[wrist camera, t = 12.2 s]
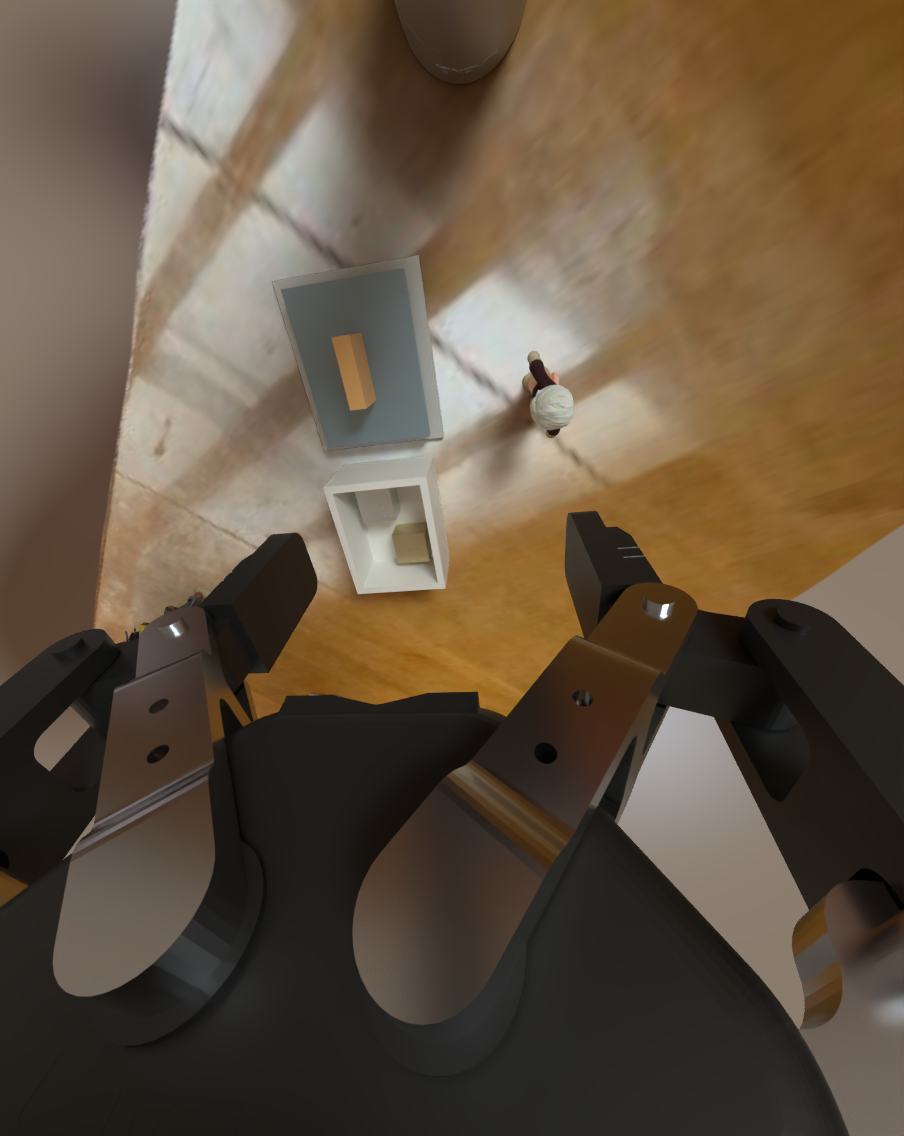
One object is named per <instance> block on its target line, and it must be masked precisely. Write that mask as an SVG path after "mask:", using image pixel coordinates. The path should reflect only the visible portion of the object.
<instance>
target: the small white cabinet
mask: <svg viewBox="0 0 904 1136" xmlns="http://www.w3.org/2000/svg"><path fill="white" fill-rule="evenodd" d="M395 487H396V490H397V494H398V499H399V503H400V508H401V510H400V513H399V515H398V517H397V520H394V521H383V522H371V523H363V519H362V516H361V512H360V509H359V505H358V502H357V498H356V495H355V491H365V490H375V489H385V488H395ZM323 490H324V493H325V496H326V499H327V502H328V505H329V508H330V511H331V514H332V517H333V520H334V523H335V526H336V529H337V532H338V535H339V538H340V541H341V545H342V548H343V551H344V554H345V557H346V560H347V563H348V566H349V569H350V572H351V575H352V578H353V581H354V584H355V587H356V590H357V593H358V594H368V593H383V592H398V591H413V590H428V589H444V588H446V581H447V574H448V567H449V559H450V556H449V550H448V543H447V537H446V530H445V524H444V518H443V511H442V505H441V499H440V492H439V486H438V480H437V473H436V467H435V461H434V455H430V456H421V457H412V458H403V459H394V460H385V461H376V462H367V463H358V464H349V465H343V466H342V467H341V468H340V469H339V470H338V471H337V472H336V473H335V474H334V476H333V477H332V478H331V479H330V480H329V481H328V482H327V483H326V484H325V485H324V487H323ZM419 522H427V527H428V532H429V537H430V543H431V548H432V552H431V557H430V561H427V562H414V563H400V564H398V560H397V556H396V551H395V547H394V543H393V539H392V534H393V531H394V529H395V527H396V524H407V523H419Z"/></svg>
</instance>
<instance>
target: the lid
mask: <svg viewBox="0 0 904 1136" xmlns="http://www.w3.org/2000/svg"><path fill="white" fill-rule="evenodd" d="M281 292H282V296H283V299H284V302H285V306H286V309H287V312H288V316H289V319H290V322H291V326H292V329H293V332H294V336H295V339H296V342H297V345H298V349H299V352H300V355H301V359H302V362H303V365H304V369H305V372H306V375H307V379H308V382H309V385H310V389H311V392H312V395H313V398H314V402H315V405H316V408H317V412H318V415H319V418H320V422H321V425H322V428H323V432H324V435H325V438H326V442H327V445H328V448H335V447H344V446H352V445H361V444H369V443H378V442H387V441H395V440H404V439H412V438H421V437H430V435H431V434H430V427H429V421H428V415H427V408H426V402H425V396H424V389H423V383H422V376H421V370H420V364H419V357H418V351H417V344H416V338H415V332H414V325H413V319H412V312H411V306H410V300H409V293H408V287H407V280H406V274H405V269H404V268H401V269H395V270H390V271H384V272H378V273H372V274H367V275H361V276H355V277H349V278H344V279H338V280H332V281H326V282H321V283H315V284H309V285H303V286H298V287H292V288H286V289H281Z"/></svg>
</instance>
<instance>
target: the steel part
mask: <svg viewBox="0 0 904 1136" xmlns="http://www.w3.org/2000/svg"><path fill="white" fill-rule="evenodd" d="M355 495H356V498H357V502H358V505H359V509H360V512H361V516H362V519H363V523H371V522H383V521H394V520H397V517H398V515H399V513H400V510H401V508H400V503H399V499H398V494H397V490H396V487H395V488H385V489H375V490H365V491H355Z"/></svg>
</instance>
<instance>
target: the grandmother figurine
mask: <svg viewBox="0 0 904 1136" xmlns="http://www.w3.org/2000/svg"><path fill="white" fill-rule="evenodd" d="M528 362H529V366H530V367H529V369H530V373H528V374H527V375H526V376H525V377H524V378H523V385H524V387H525V389H526V390H529V391H530V392H531V394H532V398H531V400H530V412H531V416H532V419H533V420H534V421H535V422H536V423H538V424H540V425H541V426H542V427H543V428H544V429H546V436H547V437H548V438H554V437H555V436H556V435H557V434H558V433H559V431H560V428H562V427H564V426H567V425H568V424H569V423H570V421H571V420H572V417H573V411H574V407H573V397H572V395H571V393H570V391H569V390H567V389H565V388H564V387H562V386H561V385H559V378H558V375H557V374H556V373H555V372H554V373H552V374H551V376H550V373H549V370H548V369H547V368H546V367H544V365H543V362H542V361H541V359H540V358H539V353H538V352H537V351H532V352H530V353H529V355H528Z"/></svg>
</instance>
